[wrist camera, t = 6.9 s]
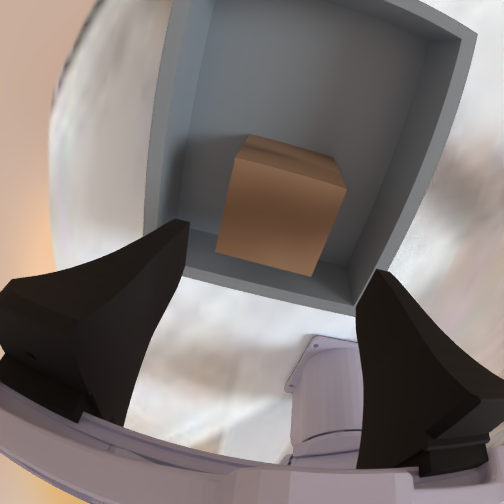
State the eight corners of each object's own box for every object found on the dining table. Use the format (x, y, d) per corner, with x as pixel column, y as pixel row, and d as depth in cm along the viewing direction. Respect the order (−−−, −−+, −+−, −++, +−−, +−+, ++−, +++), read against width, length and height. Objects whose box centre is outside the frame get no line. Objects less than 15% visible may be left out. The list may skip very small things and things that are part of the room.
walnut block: (307, 229, 20) (310, 276, 16) (231, 208, 20) (215, 252, 16) (333, 157, 17) (347, 189, 13) (249, 133, 17) (235, 157, 13)
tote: (350, 270, 23) (359, 317, 18) (169, 225, 22) (142, 265, 18) (436, 37, 13) (477, 34, 9) (213, -27, 12) (188, -53, 8)
